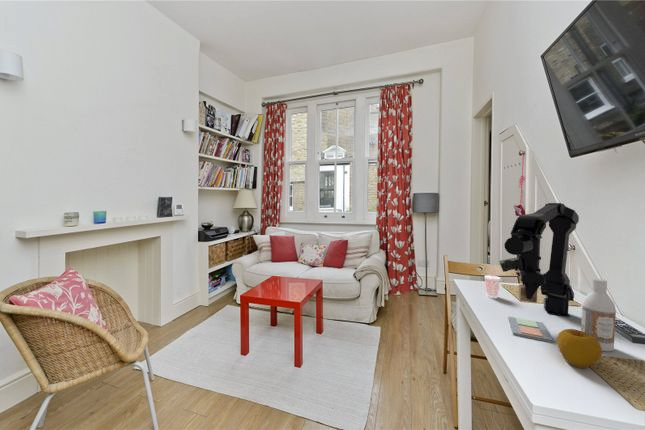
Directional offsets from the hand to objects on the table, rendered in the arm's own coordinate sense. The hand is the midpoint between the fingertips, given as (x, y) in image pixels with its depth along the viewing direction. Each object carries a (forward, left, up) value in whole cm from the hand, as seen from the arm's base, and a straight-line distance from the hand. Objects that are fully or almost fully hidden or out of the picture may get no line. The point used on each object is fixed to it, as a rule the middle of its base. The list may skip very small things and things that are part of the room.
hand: (527, 296), depth 94 cm
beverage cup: (+9, -28, -10) cm, 32 cm away
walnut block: (0, 0, -1) cm, 1 cm away
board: (0, +4, -10) cm, 11 cm away
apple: (-8, +22, -10) cm, 25 cm away
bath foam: (-16, +7, -10) cm, 20 cm away
